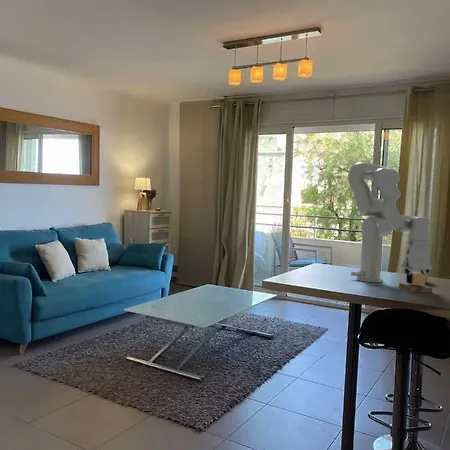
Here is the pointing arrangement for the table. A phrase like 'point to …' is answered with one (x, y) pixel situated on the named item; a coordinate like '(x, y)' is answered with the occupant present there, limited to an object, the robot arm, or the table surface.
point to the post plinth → (415, 287)
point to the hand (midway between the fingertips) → (415, 282)
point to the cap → (418, 278)
